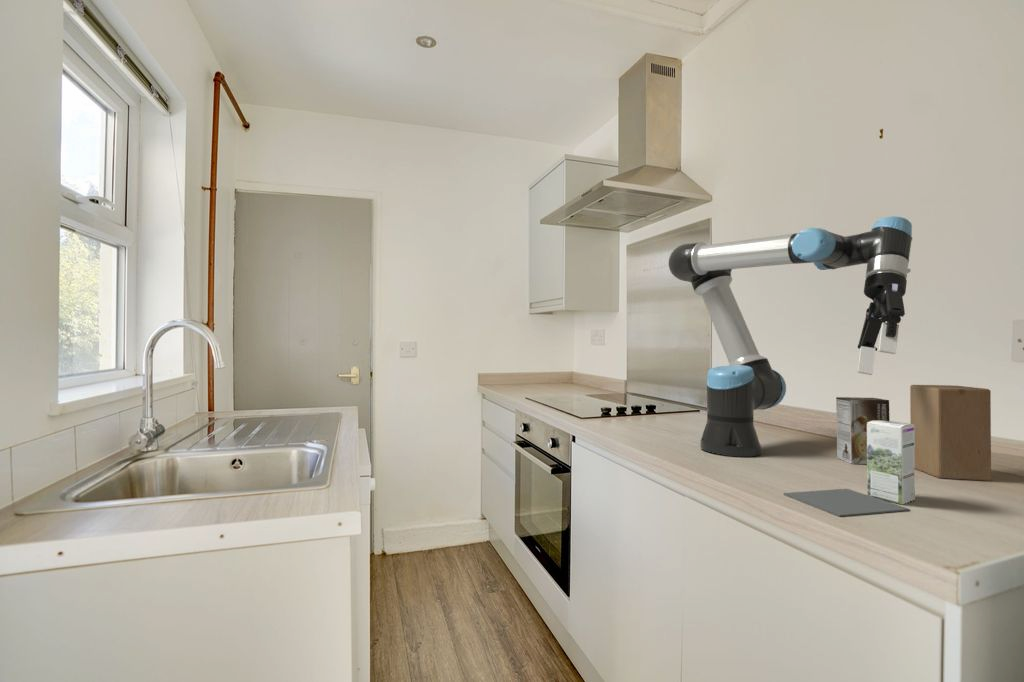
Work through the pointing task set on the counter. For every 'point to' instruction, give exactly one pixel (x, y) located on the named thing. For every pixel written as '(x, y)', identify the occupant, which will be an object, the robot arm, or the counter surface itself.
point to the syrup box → (891, 461)
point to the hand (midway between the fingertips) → (875, 363)
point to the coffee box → (857, 425)
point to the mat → (845, 502)
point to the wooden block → (952, 431)
